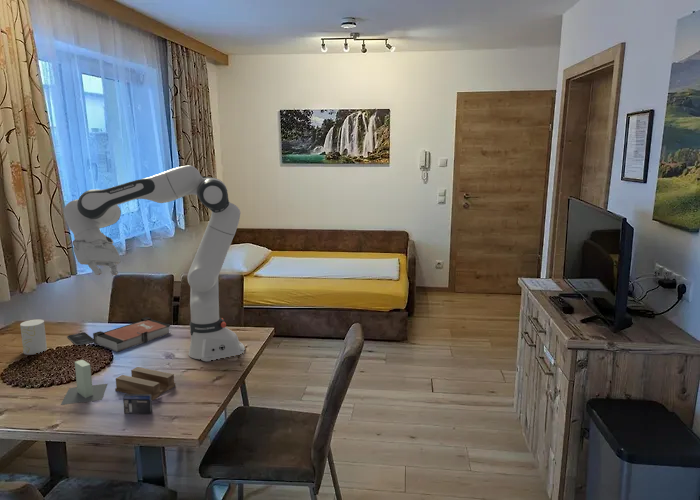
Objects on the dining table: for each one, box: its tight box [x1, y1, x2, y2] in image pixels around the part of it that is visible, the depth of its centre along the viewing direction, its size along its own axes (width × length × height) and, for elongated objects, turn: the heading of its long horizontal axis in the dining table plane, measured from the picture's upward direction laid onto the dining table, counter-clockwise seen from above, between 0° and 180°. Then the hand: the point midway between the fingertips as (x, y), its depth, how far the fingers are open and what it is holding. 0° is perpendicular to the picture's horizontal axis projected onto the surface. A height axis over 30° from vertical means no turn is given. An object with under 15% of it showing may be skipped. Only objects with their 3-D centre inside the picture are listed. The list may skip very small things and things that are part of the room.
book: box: [92, 316, 171, 353], centre depth 214 cm, size 26×18×5 cm
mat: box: [60, 383, 108, 406], centre depth 163 cm, size 12×12×1 cm
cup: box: [20, 318, 48, 356], centre depth 198 cm, size 8×8×12 cm
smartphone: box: [66, 332, 94, 346], centre depth 212 cm, size 8×1×15 cm
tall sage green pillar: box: [74, 359, 93, 398], centre depth 162 cm, size 2×6×11 cm, turn 51°
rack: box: [114, 366, 176, 401], centre depth 168 cm, size 11×16×5 cm
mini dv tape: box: [122, 393, 153, 415], centre depth 152 cm, size 8×2×6 cm, turn 90°
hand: (107, 274), depth 174 cm, fingers open, 8 cm apart
